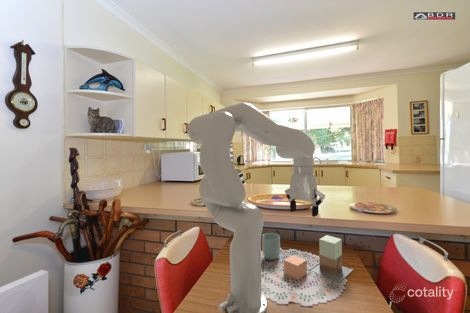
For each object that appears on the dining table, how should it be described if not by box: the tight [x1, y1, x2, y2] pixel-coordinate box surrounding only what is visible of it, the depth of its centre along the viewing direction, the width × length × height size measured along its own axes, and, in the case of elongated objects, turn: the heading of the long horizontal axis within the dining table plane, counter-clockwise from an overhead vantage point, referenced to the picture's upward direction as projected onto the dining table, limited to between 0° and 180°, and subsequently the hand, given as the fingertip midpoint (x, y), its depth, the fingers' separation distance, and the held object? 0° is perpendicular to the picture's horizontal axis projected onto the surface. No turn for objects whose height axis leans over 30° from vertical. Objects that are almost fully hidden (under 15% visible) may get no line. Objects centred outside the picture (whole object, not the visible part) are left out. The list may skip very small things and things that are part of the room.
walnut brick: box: [319, 254, 343, 276], centre depth 86 cm, size 6×6×6 cm
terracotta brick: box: [283, 254, 308, 281], centre depth 84 cm, size 6×6×6 cm
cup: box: [261, 232, 281, 261], centre depth 98 cm, size 8×8×10 cm
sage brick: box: [318, 234, 343, 260], centre depth 86 cm, size 6×6×6 cm
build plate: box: [308, 260, 354, 283], centre depth 86 cm, size 12×12×1 cm
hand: (303, 213), depth 89 cm, fingers open, 9 cm apart
